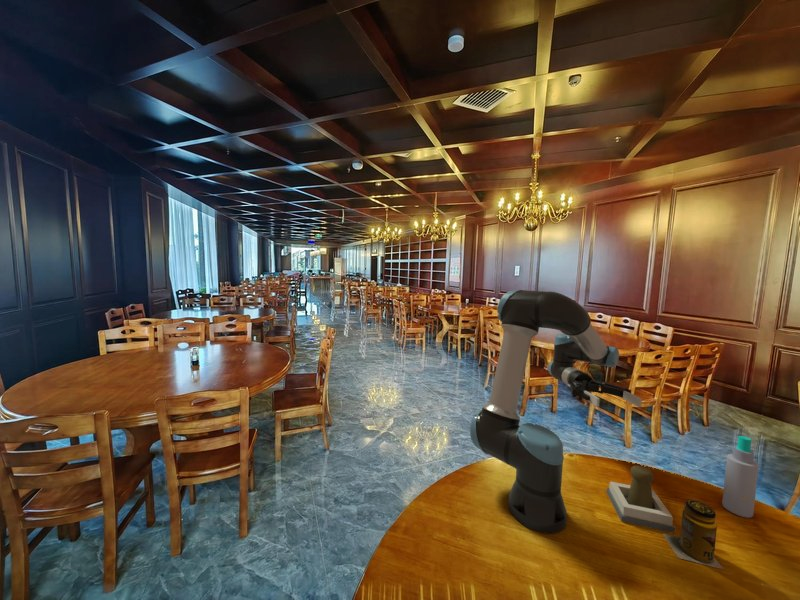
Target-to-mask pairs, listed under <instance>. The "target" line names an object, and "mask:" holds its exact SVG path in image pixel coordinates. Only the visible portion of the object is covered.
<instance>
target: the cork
mask: <svg viewBox="0 0 800 600" xmlns="http://www.w3.org/2000/svg"><path fill="white" fill-rule="evenodd" d="M630 476H632V479H631V482H630V485H631V486H630V490H629V494H628V498H627V502H628V503H629V504H630V505H635V506H640V507H645V508H649V509H654V508H653V499H652V490H653V489H652V484H653V481H654V480H655V477H654V473H653V472H652V471H651V470H650V468H648V467H645V466H644V465H643V466H642V465H633V466H631V468H630Z"/></svg>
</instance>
